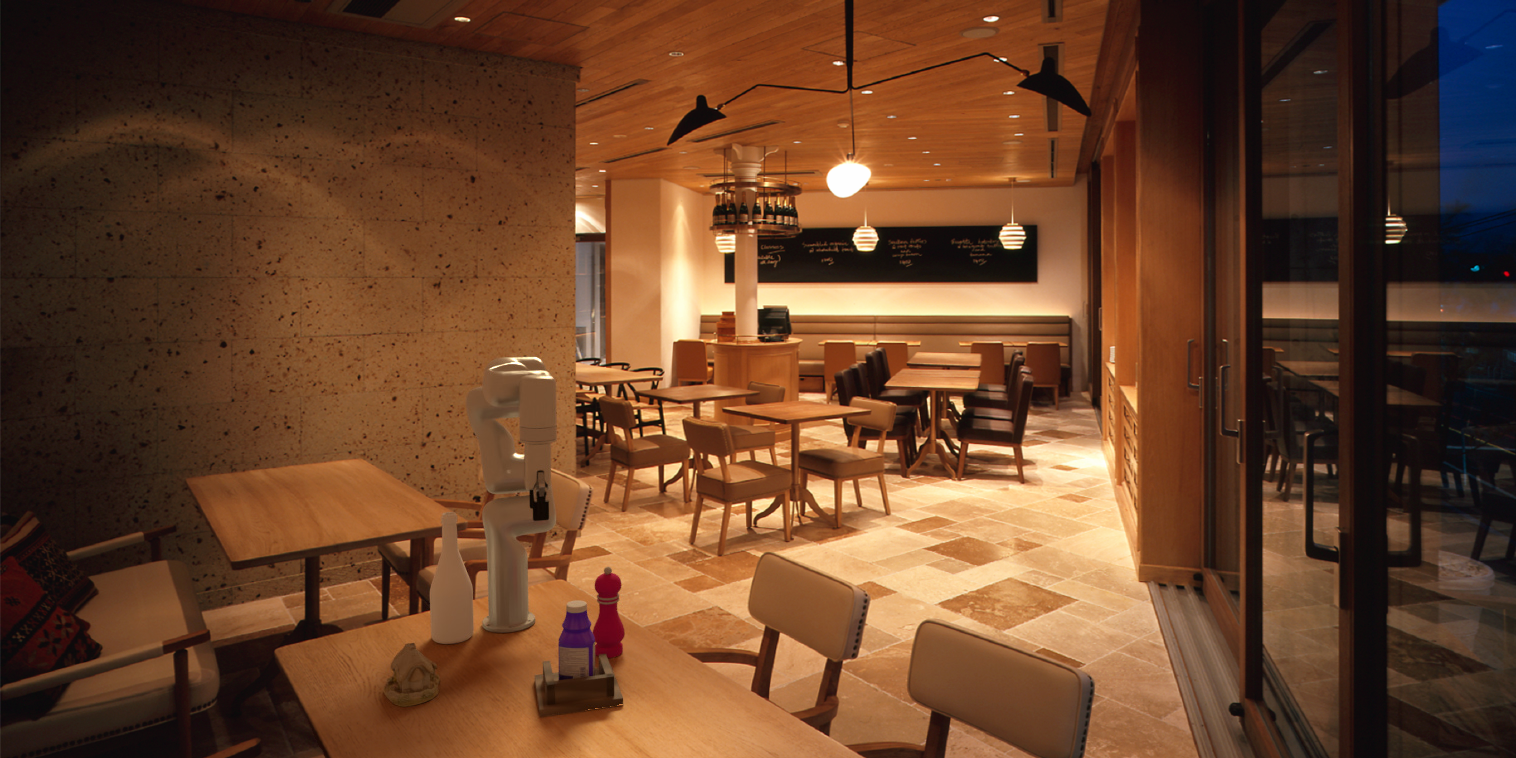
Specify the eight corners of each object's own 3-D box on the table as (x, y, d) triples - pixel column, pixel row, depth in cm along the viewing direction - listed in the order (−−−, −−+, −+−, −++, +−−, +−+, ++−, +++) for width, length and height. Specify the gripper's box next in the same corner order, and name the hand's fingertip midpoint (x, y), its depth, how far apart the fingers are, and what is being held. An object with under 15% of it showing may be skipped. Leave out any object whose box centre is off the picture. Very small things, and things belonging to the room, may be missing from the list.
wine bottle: (429, 633, 205) (425, 510, 203) (471, 627, 209) (467, 507, 207) (432, 648, 197) (428, 520, 194) (476, 641, 201) (472, 515, 198)
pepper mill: (621, 659, 191) (620, 572, 189) (589, 659, 191) (588, 571, 189) (627, 646, 198) (626, 562, 196) (596, 646, 198) (595, 561, 197)
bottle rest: (534, 681, 179) (534, 656, 179) (611, 672, 184) (610, 647, 184) (539, 717, 164) (539, 689, 164) (623, 705, 169) (622, 678, 169)
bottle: (598, 680, 177) (597, 598, 175) (591, 693, 171) (590, 608, 170) (563, 679, 177) (562, 597, 176) (555, 692, 172) (554, 607, 170)
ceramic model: (379, 684, 178) (377, 638, 178) (435, 672, 184) (434, 627, 183) (390, 712, 167) (388, 662, 166) (450, 698, 172) (449, 650, 172)
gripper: (517, 427, 186) (518, 504, 188) (522, 442, 170) (523, 526, 172) (552, 426, 188) (553, 502, 190) (560, 441, 172) (561, 523, 174)
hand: (539, 513), depth 181 cm, fingers open, 9 cm apart
